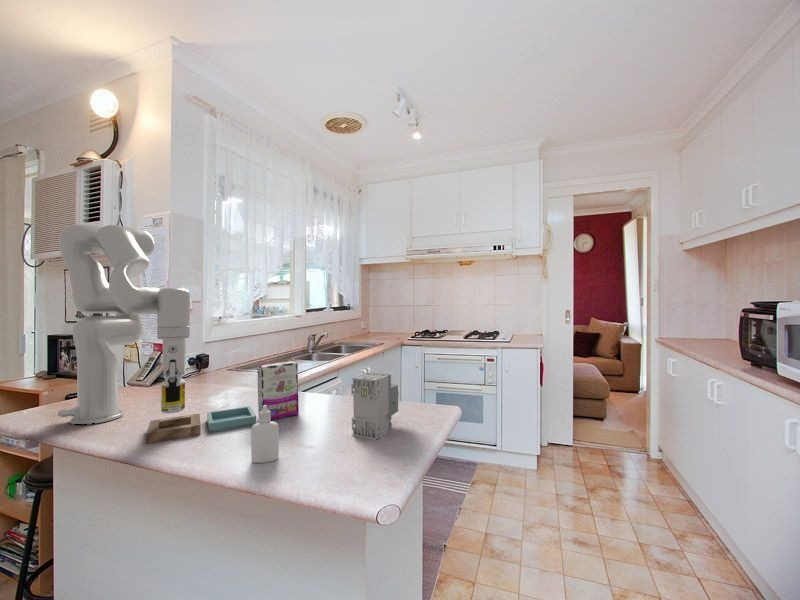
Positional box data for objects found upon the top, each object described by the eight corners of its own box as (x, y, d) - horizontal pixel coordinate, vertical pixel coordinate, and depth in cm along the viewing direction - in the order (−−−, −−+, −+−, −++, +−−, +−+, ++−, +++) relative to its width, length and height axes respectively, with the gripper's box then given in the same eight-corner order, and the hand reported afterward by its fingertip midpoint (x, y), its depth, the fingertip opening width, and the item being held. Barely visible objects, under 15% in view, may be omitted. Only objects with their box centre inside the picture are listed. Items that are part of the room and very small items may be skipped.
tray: (209, 432, 97) (209, 423, 97) (207, 420, 107) (207, 412, 107) (256, 424, 103) (256, 416, 103) (250, 413, 113) (250, 406, 113)
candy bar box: (292, 411, 115) (292, 360, 115) (299, 415, 111) (298, 362, 112) (257, 418, 108) (256, 364, 108) (262, 423, 104) (261, 366, 105)
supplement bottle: (186, 411, 98) (186, 374, 98) (162, 415, 94) (162, 376, 94) (183, 406, 102) (183, 370, 102) (159, 410, 99) (160, 373, 99)
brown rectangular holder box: (145, 443, 90) (145, 433, 90) (150, 429, 100) (150, 420, 100) (200, 434, 96) (200, 424, 96) (199, 421, 106) (199, 413, 106)
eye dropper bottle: (260, 454, 82) (259, 402, 82) (282, 456, 81) (281, 403, 81) (247, 462, 78) (247, 407, 78) (270, 465, 77) (270, 409, 77)
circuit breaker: (400, 422, 103) (400, 370, 103) (377, 440, 90) (376, 380, 90) (378, 419, 106) (377, 368, 106) (352, 435, 93) (351, 378, 93)
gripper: (189, 335, 93) (188, 404, 93) (189, 330, 108) (189, 390, 107) (154, 336, 89) (153, 409, 89) (159, 331, 104) (159, 393, 104)
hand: (173, 398), depth 98 cm, fingers closed on supplement bottle, 5 cm apart
